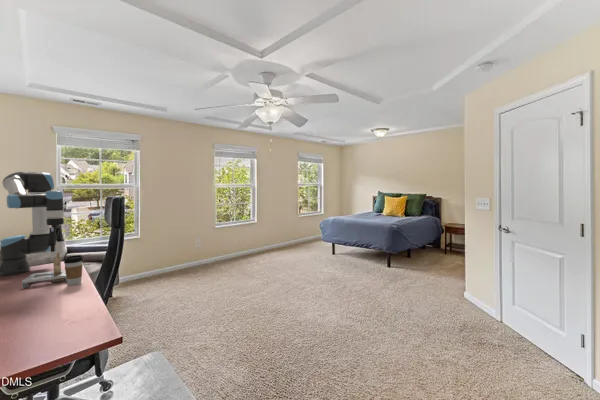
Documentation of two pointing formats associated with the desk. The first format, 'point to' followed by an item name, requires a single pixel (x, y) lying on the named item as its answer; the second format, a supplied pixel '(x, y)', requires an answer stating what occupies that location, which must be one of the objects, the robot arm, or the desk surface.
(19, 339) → the desk surface
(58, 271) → the beech peg
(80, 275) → the coffee cup
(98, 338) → the desk surface
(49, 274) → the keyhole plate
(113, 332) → the desk surface
